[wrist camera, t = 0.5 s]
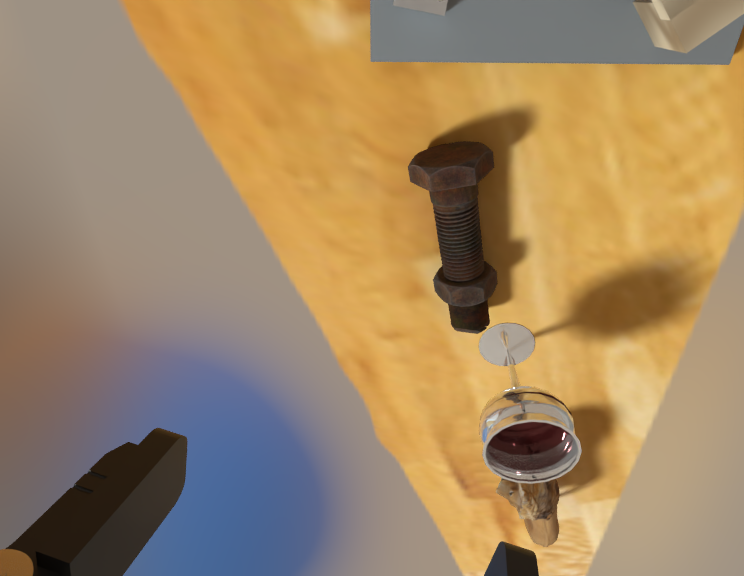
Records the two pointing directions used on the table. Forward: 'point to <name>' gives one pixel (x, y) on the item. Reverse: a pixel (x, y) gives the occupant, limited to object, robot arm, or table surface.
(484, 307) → the bolt
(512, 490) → the lion figurine
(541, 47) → the board
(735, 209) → the table surface
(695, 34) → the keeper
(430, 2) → the link
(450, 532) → the table surface
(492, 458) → the wineglass
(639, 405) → the table surface
